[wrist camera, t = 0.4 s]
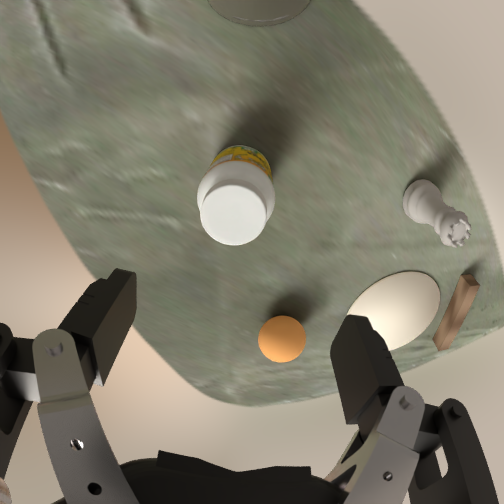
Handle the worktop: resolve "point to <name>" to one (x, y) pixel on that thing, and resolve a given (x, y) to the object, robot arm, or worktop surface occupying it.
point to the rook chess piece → (435, 212)
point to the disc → (399, 306)
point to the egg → (282, 338)
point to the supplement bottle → (236, 195)
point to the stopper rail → (456, 311)
